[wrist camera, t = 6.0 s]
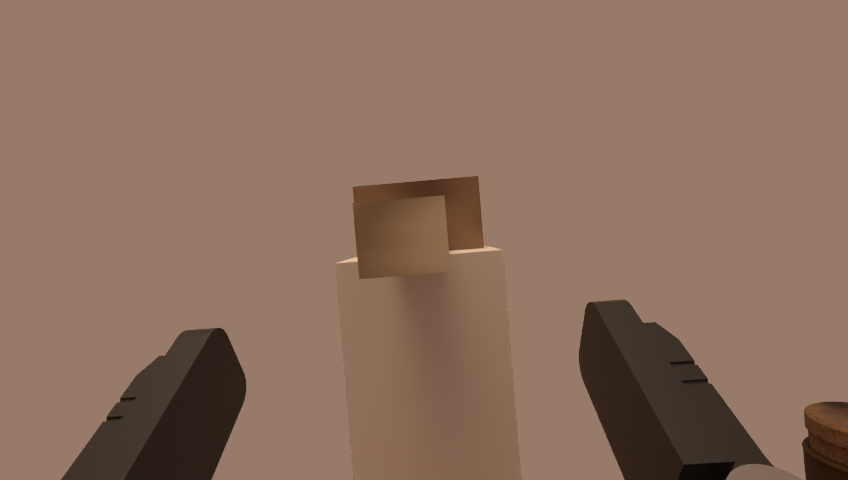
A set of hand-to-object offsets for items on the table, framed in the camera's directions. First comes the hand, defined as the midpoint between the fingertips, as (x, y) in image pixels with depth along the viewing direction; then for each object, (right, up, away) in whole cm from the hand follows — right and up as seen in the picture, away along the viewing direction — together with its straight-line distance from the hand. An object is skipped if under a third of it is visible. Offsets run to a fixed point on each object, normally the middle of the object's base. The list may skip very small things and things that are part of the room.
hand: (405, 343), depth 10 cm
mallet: (0, +2, +11) cm, 11 cm away
